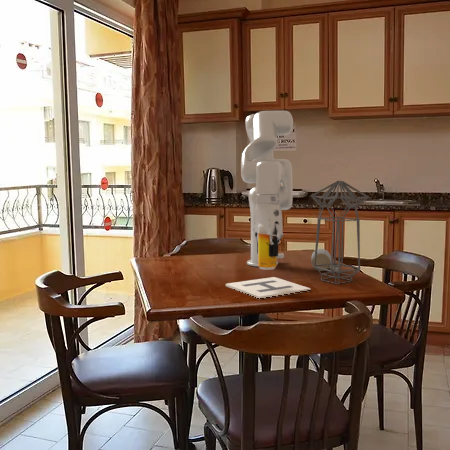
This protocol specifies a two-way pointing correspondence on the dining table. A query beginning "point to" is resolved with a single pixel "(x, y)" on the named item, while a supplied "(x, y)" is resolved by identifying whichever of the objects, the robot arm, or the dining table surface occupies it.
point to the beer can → (265, 250)
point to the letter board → (267, 287)
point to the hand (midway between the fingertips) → (267, 254)
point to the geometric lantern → (338, 226)
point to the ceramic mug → (323, 260)
